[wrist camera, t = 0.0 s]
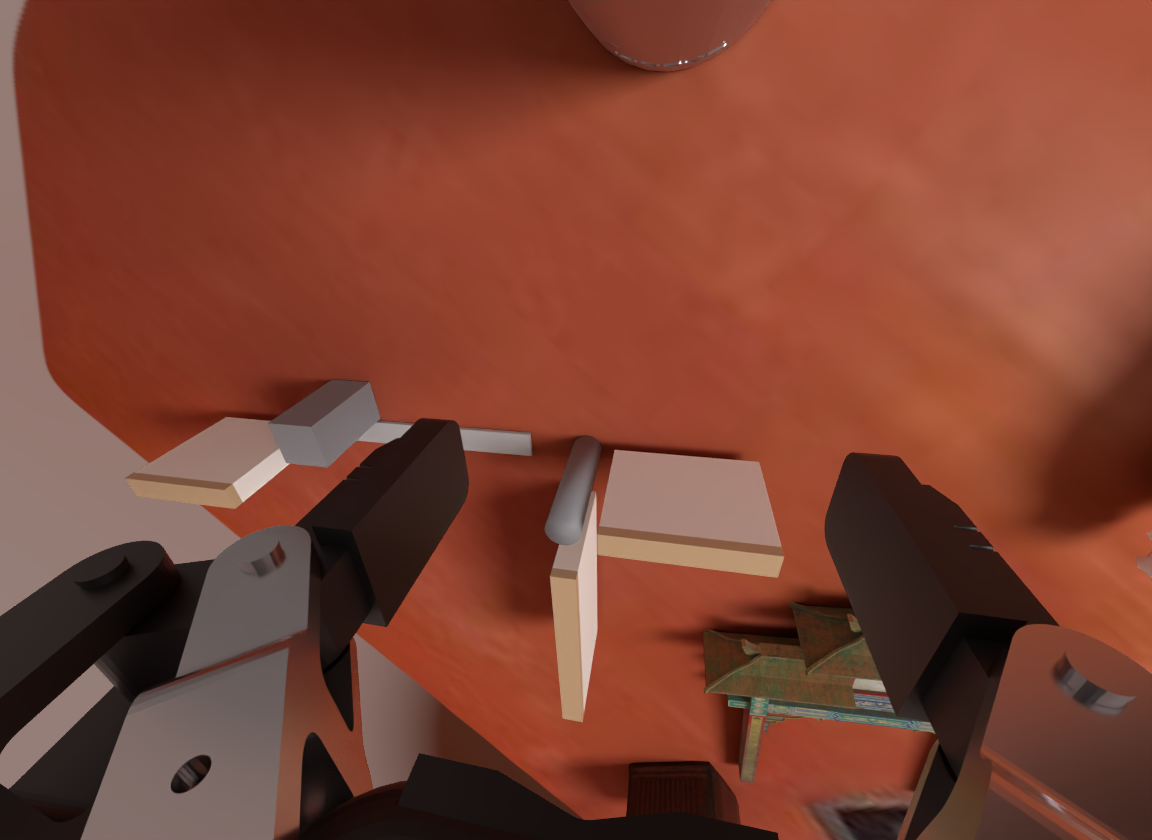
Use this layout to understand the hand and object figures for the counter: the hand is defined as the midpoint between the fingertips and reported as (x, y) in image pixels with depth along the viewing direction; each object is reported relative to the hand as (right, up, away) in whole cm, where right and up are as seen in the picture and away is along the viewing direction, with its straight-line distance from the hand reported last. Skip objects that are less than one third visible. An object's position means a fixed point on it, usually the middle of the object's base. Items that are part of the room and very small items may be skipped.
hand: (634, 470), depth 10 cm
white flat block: (0, -11, +26) cm, 28 cm away
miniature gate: (+24, -24, +31) cm, 45 cm away
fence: (-9, +1, +22) cm, 24 cm away
